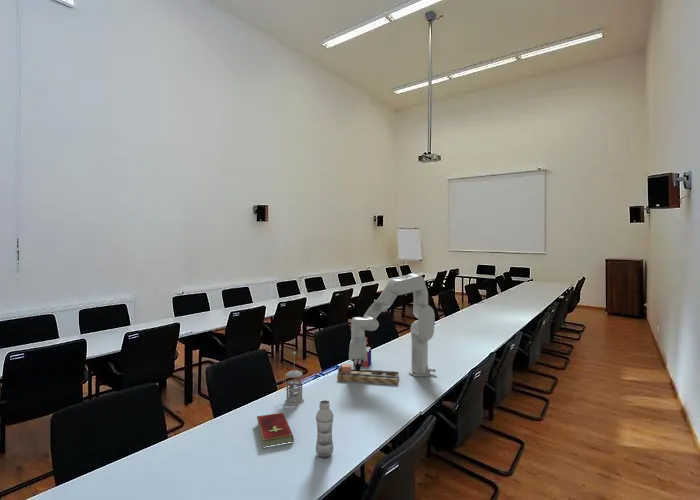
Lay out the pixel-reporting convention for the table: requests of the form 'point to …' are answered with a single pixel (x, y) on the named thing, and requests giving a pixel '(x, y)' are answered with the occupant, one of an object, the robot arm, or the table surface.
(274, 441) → the hardcover book
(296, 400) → the french press
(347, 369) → the block
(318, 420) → the plastic bottle
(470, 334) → the table surface
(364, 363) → the puzzle cube
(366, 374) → the track
